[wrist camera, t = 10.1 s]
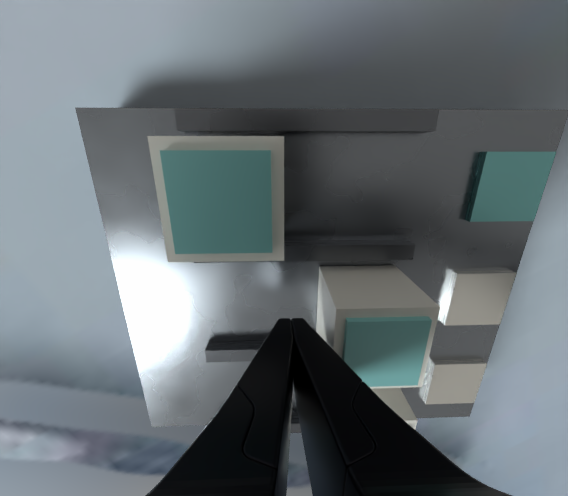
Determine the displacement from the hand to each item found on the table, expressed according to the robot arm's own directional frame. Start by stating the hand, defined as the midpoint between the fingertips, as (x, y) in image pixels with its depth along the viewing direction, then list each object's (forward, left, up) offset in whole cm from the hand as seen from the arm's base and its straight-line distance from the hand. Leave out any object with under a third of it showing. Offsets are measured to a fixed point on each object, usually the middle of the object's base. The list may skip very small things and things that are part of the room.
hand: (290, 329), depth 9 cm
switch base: (-1, 0, -4) cm, 4 cm away
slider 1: (+2, -4, -2) cm, 5 cm away
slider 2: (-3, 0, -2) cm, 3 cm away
